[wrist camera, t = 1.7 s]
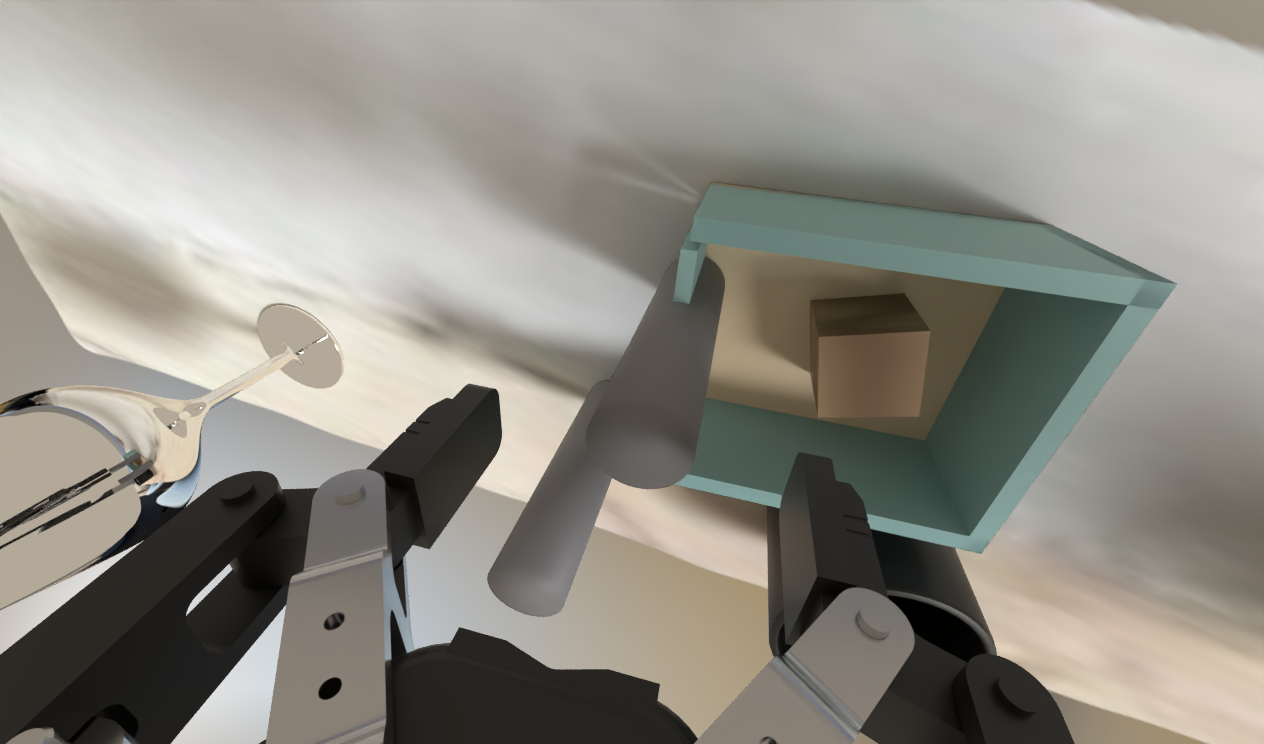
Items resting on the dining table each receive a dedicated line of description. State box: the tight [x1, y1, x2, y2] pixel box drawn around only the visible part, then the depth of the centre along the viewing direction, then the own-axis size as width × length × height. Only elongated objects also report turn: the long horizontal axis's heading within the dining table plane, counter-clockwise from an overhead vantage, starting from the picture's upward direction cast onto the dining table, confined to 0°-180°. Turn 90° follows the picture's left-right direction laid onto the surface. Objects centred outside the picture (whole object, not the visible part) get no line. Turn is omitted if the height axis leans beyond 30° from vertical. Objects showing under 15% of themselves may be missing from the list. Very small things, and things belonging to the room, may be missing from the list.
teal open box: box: [674, 182, 1177, 554], centre depth 21 cm, size 14×12×7 cm
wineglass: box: [0, 305, 344, 610], centre depth 25 cm, size 8×8×18 cm
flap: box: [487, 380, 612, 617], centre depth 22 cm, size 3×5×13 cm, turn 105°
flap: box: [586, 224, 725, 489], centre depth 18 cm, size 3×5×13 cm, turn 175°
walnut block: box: [810, 293, 931, 418], centre depth 21 cm, size 4×4×4 cm
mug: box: [767, 505, 997, 663], centre depth 26 cm, size 9×12×9 cm
